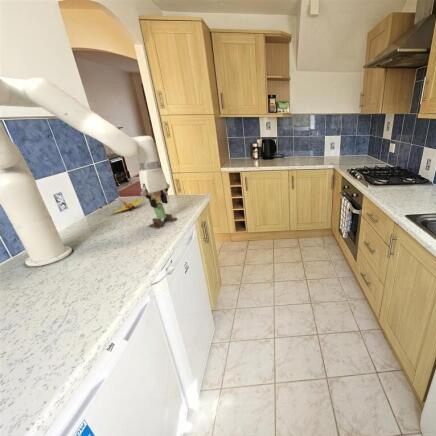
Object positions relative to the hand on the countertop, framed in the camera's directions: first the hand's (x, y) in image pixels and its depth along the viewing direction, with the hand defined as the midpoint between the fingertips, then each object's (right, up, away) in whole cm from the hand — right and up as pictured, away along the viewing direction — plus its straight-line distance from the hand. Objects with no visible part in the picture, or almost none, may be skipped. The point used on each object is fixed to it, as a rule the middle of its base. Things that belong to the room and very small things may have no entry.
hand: (159, 204), depth 112 cm
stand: (0, -9, +4) cm, 9 cm away
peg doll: (0, -6, +3) cm, 7 cm away
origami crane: (-29, -1, +22) cm, 36 cm away
